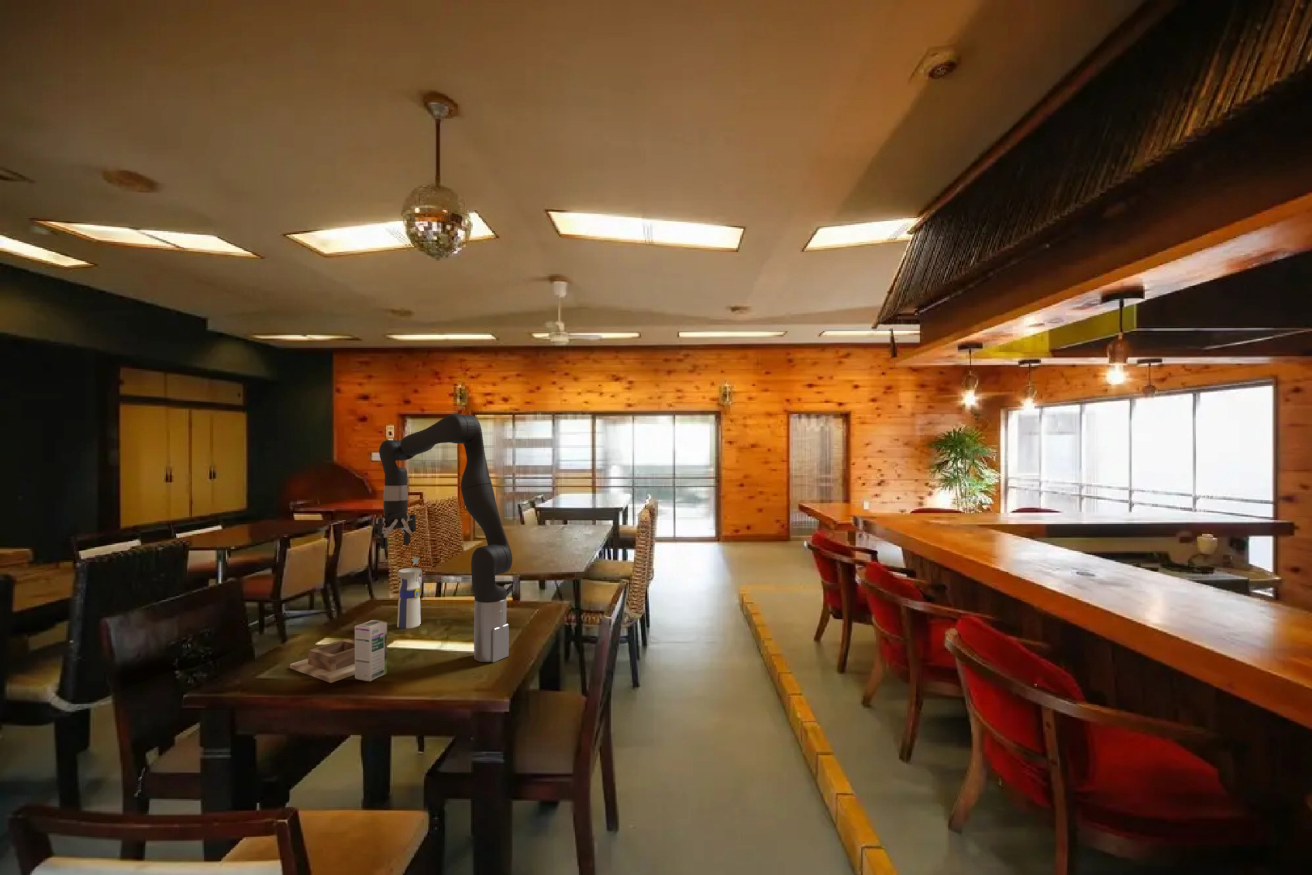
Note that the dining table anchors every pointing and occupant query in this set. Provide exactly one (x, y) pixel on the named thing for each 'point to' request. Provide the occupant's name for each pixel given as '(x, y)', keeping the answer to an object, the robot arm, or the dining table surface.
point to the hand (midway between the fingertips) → (395, 546)
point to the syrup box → (370, 650)
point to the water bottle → (409, 597)
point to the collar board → (329, 661)
